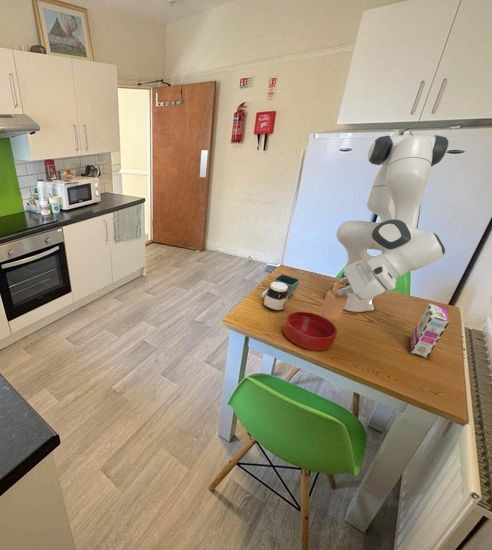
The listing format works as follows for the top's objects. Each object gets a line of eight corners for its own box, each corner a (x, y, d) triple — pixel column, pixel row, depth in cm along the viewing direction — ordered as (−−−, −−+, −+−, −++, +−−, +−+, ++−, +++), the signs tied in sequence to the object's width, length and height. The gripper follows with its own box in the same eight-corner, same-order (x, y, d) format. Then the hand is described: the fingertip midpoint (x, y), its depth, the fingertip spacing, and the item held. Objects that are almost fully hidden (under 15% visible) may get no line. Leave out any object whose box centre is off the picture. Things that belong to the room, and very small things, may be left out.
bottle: (322, 308, 114) (332, 277, 108) (341, 313, 110) (352, 282, 104) (319, 315, 110) (329, 284, 103) (338, 321, 106) (350, 289, 100)
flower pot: (278, 289, 152) (281, 273, 148) (296, 295, 146) (300, 279, 142) (270, 295, 147) (273, 279, 143) (288, 302, 141) (292, 285, 137)
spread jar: (276, 314, 132) (281, 292, 127) (253, 303, 140) (257, 282, 135) (289, 305, 138) (295, 283, 133) (267, 295, 147) (272, 274, 141)
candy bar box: (428, 359, 106) (450, 322, 98) (410, 353, 109) (430, 316, 101) (426, 342, 113) (447, 307, 106) (409, 337, 116) (428, 302, 109)
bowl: (289, 319, 129) (292, 306, 126) (335, 334, 119) (340, 321, 116) (277, 339, 117) (281, 326, 114) (328, 358, 108) (333, 344, 105)
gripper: (366, 250, 105) (326, 271, 114) (384, 276, 89) (336, 297, 97) (377, 264, 106) (337, 283, 114) (396, 291, 89) (347, 311, 97)
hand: (336, 289), depth 105 cm, fingers closed on bottle, 3 cm apart
